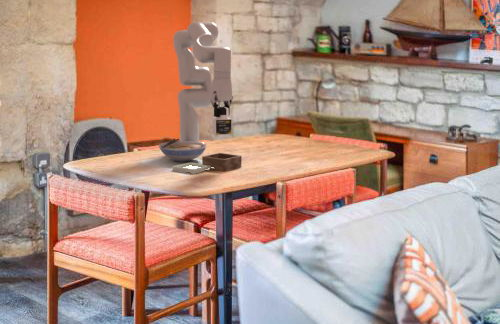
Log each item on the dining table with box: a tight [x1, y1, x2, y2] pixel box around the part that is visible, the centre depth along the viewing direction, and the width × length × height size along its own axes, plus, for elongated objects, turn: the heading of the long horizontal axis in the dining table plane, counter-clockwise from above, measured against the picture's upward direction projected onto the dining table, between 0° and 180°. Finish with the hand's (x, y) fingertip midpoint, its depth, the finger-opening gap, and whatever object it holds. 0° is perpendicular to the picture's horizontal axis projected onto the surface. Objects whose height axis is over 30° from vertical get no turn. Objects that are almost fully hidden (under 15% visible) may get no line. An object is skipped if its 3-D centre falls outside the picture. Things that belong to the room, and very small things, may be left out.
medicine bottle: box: [212, 106, 232, 136], centre depth 340 cm, size 7×7×12 cm
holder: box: [201, 152, 243, 172], centre depth 343 cm, size 13×13×5 cm
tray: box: [171, 162, 211, 175], centre depth 336 cm, size 12×12×2 cm
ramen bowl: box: [158, 138, 208, 162], centre depth 358 cm, size 25×23×8 cm
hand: (221, 115), depth 340 cm, fingers closed on medicine bottle, 6 cm apart
